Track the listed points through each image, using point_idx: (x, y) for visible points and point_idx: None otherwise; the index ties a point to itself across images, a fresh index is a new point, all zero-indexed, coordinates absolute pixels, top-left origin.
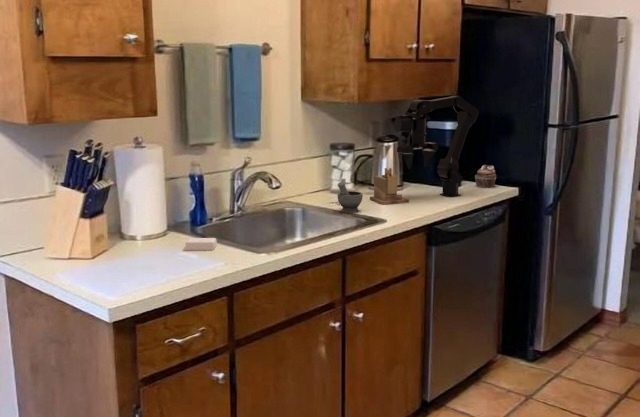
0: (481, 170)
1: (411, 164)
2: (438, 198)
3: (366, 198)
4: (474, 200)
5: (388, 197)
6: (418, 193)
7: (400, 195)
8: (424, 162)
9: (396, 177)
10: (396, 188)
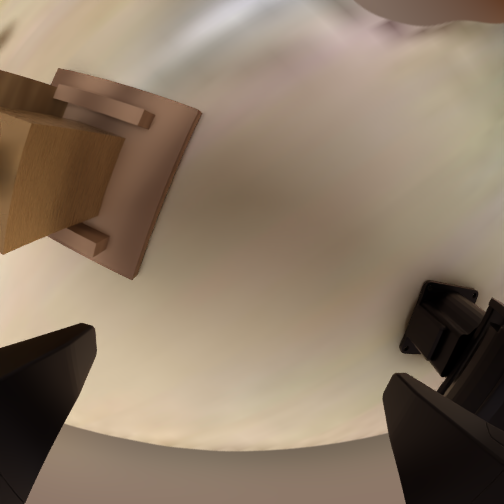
0: None
1: (61, 416)
2: (343, 326)
3: (81, 40)
4: (378, 431)
5: None
6: (401, 157)
7: (85, 251)
8: (421, 413)
9: (5, 248)
10: (59, 227)
